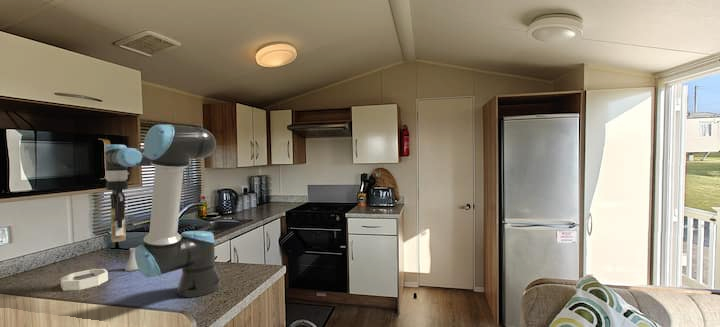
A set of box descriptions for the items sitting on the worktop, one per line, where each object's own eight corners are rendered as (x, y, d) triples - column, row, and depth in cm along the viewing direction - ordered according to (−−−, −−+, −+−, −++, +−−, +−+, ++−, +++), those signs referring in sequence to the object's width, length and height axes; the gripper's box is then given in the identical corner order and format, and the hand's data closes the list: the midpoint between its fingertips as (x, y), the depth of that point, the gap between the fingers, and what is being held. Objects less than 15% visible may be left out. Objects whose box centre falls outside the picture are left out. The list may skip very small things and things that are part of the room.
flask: (127, 272, 150) (127, 251, 150) (122, 269, 154) (121, 249, 154) (145, 268, 156) (144, 247, 156) (139, 265, 160) (139, 245, 160)
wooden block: (125, 240, 139) (124, 207, 139) (112, 242, 135) (112, 209, 135) (124, 239, 140) (123, 207, 140) (111, 241, 137) (110, 208, 137)
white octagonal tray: (110, 282, 138) (110, 273, 138) (64, 293, 127) (64, 283, 127) (102, 275, 147) (102, 266, 147) (59, 284, 136) (59, 275, 136)
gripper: (132, 180, 135) (134, 235, 135) (122, 179, 146) (124, 231, 146) (110, 181, 130) (112, 239, 130) (101, 180, 140) (103, 234, 140)
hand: (118, 234), depth 138 cm, fingers closed on wooden block, 2 cm apart
